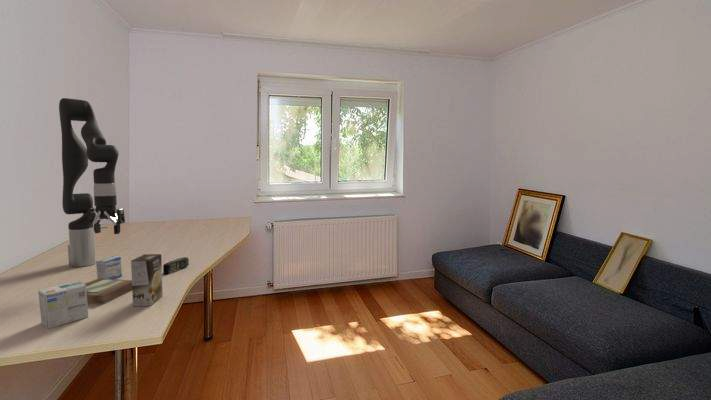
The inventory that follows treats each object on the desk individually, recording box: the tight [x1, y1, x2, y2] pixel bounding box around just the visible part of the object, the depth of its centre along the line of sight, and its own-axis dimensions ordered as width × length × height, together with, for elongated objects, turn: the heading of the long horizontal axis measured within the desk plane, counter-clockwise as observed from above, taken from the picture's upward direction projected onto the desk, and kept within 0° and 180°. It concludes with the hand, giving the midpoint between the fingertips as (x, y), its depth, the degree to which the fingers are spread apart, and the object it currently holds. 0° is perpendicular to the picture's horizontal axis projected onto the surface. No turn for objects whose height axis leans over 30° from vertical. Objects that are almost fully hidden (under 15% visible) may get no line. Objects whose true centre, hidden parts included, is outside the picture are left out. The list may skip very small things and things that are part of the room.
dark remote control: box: [162, 256, 190, 275], centre depth 166 cm, size 5×3×15 cm
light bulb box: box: [37, 280, 89, 330], centre depth 114 cm, size 11×7×11 cm, turn 145°
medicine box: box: [95, 255, 123, 279], centre depth 152 cm, size 8×4×9 cm, turn 168°
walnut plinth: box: [84, 278, 132, 305], centre depth 136 cm, size 16×16×3 cm
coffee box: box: [130, 253, 164, 307], centre depth 130 cm, size 9×6×16 cm
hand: (107, 233), depth 150 cm, fingers open, 8 cm apart
